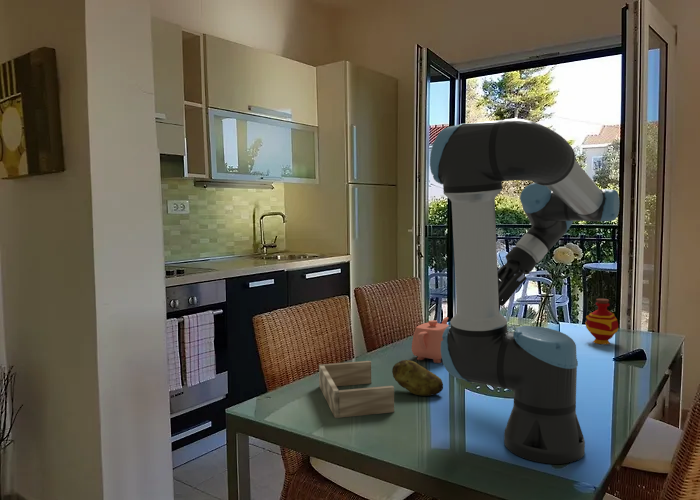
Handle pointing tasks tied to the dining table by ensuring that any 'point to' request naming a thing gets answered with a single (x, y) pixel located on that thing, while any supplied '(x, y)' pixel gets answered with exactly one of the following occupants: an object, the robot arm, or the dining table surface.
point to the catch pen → (353, 390)
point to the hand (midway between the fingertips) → (468, 319)
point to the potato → (416, 378)
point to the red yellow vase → (602, 323)
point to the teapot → (429, 340)
